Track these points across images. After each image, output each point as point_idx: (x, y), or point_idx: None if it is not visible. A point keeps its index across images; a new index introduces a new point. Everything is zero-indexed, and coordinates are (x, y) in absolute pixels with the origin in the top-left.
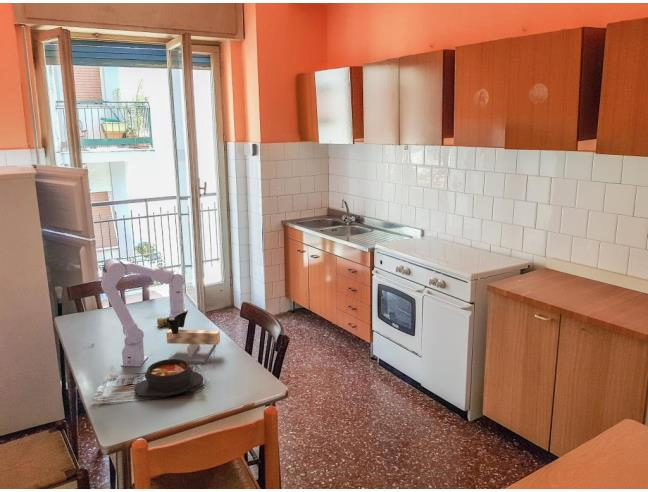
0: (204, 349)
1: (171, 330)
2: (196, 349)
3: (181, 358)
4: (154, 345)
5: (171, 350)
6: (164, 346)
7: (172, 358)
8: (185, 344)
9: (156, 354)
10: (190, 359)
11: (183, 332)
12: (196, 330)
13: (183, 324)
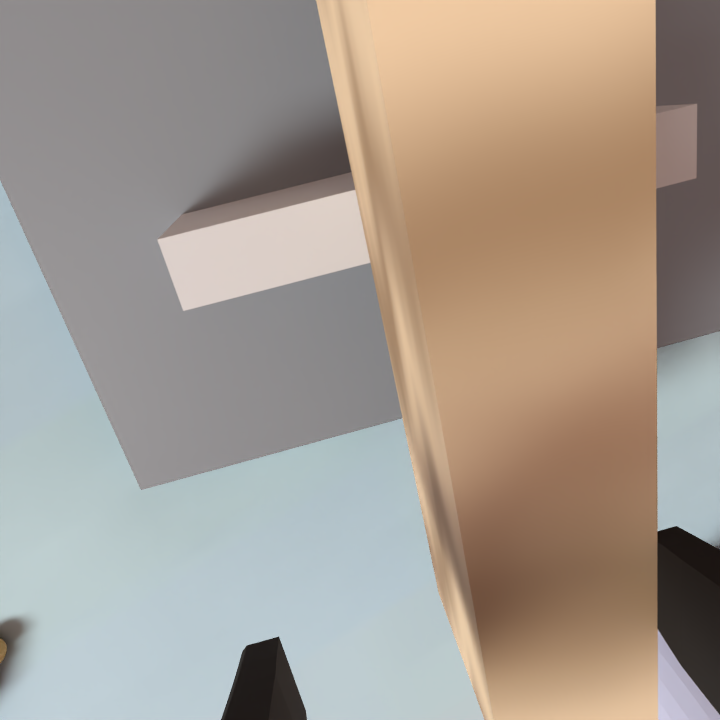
0: (307, 34)
1: (550, 708)
2: (349, 172)
3: (671, 218)
4: (318, 701)
5: (384, 495)
6: (308, 614)
7: (678, 329)
8: (237, 422)
9: None
10: (694, 70)
11: (636, 441)
12: (442, 179)
13: (277, 695)
